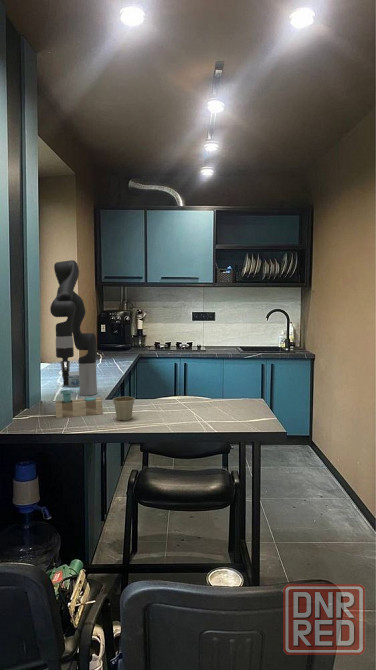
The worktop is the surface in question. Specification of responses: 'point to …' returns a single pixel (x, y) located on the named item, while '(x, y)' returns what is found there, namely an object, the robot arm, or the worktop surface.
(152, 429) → the worktop surface
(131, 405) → the flower pot
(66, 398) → the teal peg
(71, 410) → the oak block
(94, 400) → the teal peg
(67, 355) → the robot arm
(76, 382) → the chinaware
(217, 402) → the worktop surface
